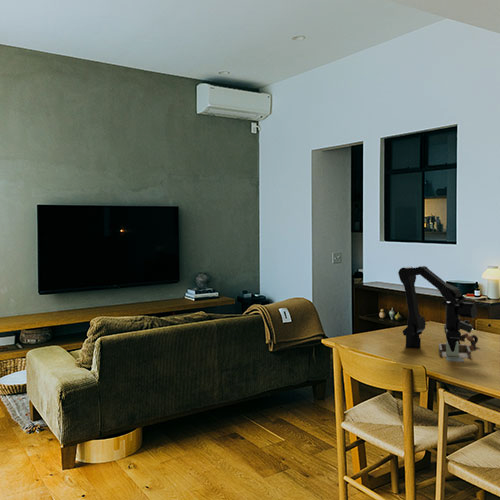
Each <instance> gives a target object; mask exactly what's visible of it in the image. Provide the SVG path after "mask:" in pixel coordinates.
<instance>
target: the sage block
mask: <svg viewBox="0 0 500 500" xmlns="http://www.w3.org/2000/svg"><path fill="white" fill-rule="evenodd" d="M445 341H446V343H445V344H446V355H447V356H459V343H458V341H457V342H456V346H455V350H454V352H452V351H451V349H450V346H449V344H448V341H447V339H446V340H445Z"/></svg>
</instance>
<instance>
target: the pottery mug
mask: <svg viewBox="0 0 500 500" xmlns="http://www.w3.org/2000/svg"><path fill="white" fill-rule="evenodd" d="M465 339H466V340H467V341H468V342H470V345H468V346H469V348H470V350H471V351H473V350H474V351H475V350H477V347H476V344H477V343H478V342H479V341H478V340H479V338H478V336H477V335H476V334H473V335H470V334H469V333H468V332H466V333H463V334H461V338H460V339H459V340H458V343H459V344H460V345H462V343H463V342H466V340H465ZM461 342H462V343H461Z"/></svg>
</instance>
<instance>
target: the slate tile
mask: <svg viewBox="0 0 500 500" xmlns="http://www.w3.org/2000/svg"><path fill="white" fill-rule="evenodd" d="M445 360H446V362H455V363H456V362H457V363H464V361H465V360H464V358H462V357H447V356H446V357H445Z"/></svg>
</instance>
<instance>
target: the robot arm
mask: <svg viewBox="0 0 500 500" xmlns="http://www.w3.org/2000/svg"><path fill="white" fill-rule="evenodd" d="M397 273H398V278H399V280H400V282H401V284H402V285H403V286H404V293H405V298H406V304H407V311H408V317H407V320H406V321H407V322H406V327H405V328H404V329H403V330H402V334H403V336H405V349H418V350H419V349H420V348H421V344H422V343H421V337H420V335H422V334H423V331H424V330H425V329H426V326H427V323H426V319H425V318H426V317H425V316H422V315H421V313H420V309H419V303H418V299H417V292H416V286H415V284H416V281H417V276H418V275H419V276H421V277H422V278H423V279H424V280H426V281H427V282H428V283H430V285H432V286H433V287H434V288H436V290H438V291H439V293H440V295H441V296H442V297H443V298H444V300H443V301H442V302H441V304H440V305H441V306H445V324H444V328H443V329H444V335H445V339H446V340H447V341H448V344H449V346H450V349H451V351H452V352H454V350H455V346H456V342H457V341H458V340H459V339H460V338H461V335H462V333H461V330H462V331H464V332H466V333H467V334H471V333H472V330H473V328H474V327H473V325H472V324H471V323H470V321H469V320H467V319H465V320H461V318H468V319H475V318H477V315H478V309H477V306H476V303H475V302H467V301H466V299H465V298H464V296H463V294H462V291H461V289H460V288H458V287H456V286H454V285H452V284H450V283H447V282H446V281H444V280H443V279H442V278H440V277H439V276H438V275H436V273H434V272H433V270H430V269H429V268H428V266H426V265H420V266H417V267H413V266H403V267H401V268H399V270H398V272H397ZM460 317H461V318H460Z"/></svg>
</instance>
